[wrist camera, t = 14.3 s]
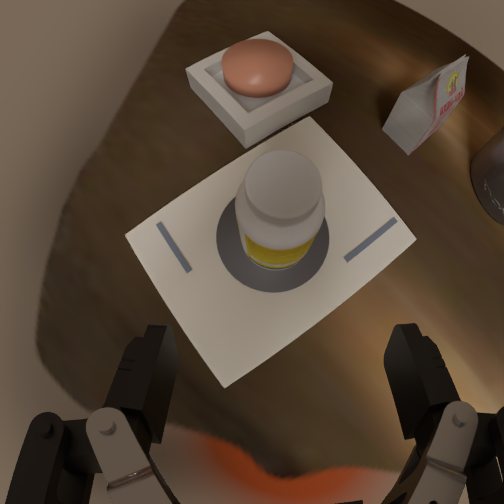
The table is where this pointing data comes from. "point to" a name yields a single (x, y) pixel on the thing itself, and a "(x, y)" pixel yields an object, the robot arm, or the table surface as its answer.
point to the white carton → (426, 105)
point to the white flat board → (253, 276)
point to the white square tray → (259, 109)
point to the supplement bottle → (279, 208)
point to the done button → (257, 68)
